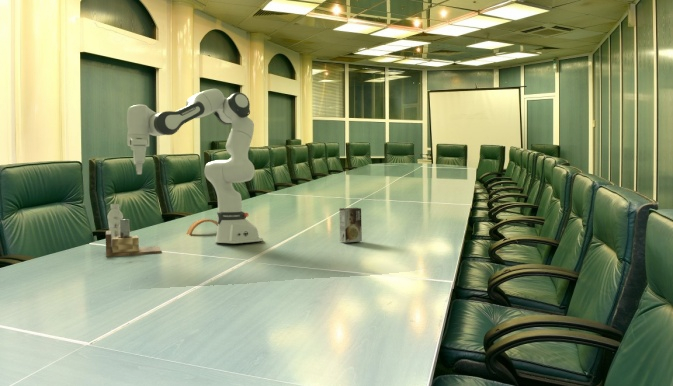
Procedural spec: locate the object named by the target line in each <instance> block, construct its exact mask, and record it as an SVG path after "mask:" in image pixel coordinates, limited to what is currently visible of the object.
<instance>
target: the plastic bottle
mask: <svg viewBox="0 0 673 386" xmlns="http://www.w3.org/2000/svg"><path fill="white" fill-rule="evenodd" d="M106 217H107V218H106V219H107V223H108V231H111V239H112V237H118V236H120V220H121V219H123V218H124V214H123V212H122V211H121V210H120V203H110V210H109V211H108V213H107V216H106Z"/></svg>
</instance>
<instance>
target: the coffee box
mask: <svg viewBox="0 0 673 386" xmlns="http://www.w3.org/2000/svg"><path fill="white" fill-rule="evenodd" d="M362 232H363V231H362V208H361V207H344V208H341V207H340V208H339V242H341V241H342V242H343V243H345V244H346V243H354V242H362V240H363V239H362V238H363V237H362V235H363V234H362Z"/></svg>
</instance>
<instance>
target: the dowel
mask: <svg viewBox="0 0 673 386" xmlns="http://www.w3.org/2000/svg"><path fill="white" fill-rule="evenodd" d="M130 232H131V231H130V219H129V218H124V219H121V220H120V238H130V236H131V234H130Z"/></svg>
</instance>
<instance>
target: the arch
mask: <svg viewBox="0 0 673 386" xmlns="http://www.w3.org/2000/svg"><path fill="white" fill-rule="evenodd" d="M205 222H206V223H208V222H210V223H212V224H214V225H215V226H216V227H218V223H217V220H214V219H209V218H202V219H198V220H197V221H195V222H193V223H192V224H191V225H190V226H189V227H188V229H187V231H186V234H187V235H188V234H189V235H191V236H192V234H193V231H195V229H196V228H197V227H198V226H199V225H201V224H202V223H205ZM189 235H188V236H189Z"/></svg>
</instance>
